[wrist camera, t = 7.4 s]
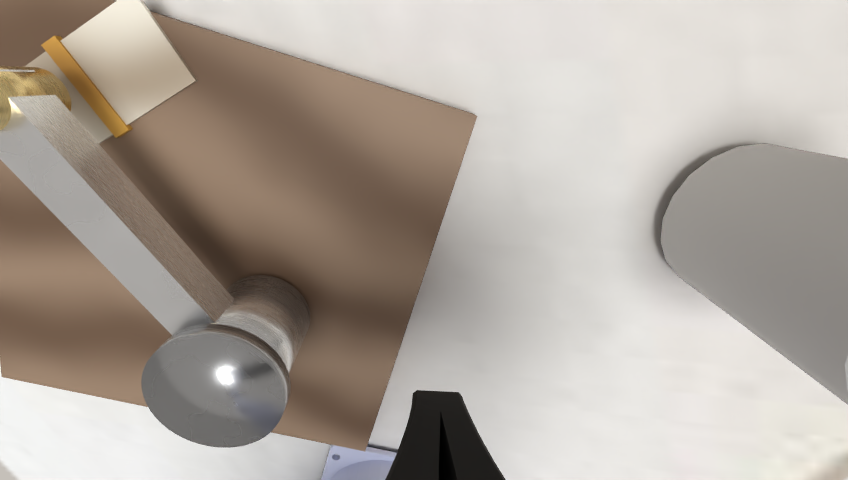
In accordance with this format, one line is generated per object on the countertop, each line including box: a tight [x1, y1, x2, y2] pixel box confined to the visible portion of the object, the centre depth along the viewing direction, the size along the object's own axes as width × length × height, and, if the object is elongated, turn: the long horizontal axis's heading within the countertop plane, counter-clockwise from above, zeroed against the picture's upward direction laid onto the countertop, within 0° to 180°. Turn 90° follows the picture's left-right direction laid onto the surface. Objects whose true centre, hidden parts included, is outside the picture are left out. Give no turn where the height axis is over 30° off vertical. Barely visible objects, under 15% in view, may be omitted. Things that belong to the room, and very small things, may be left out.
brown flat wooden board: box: [0, 0, 477, 451], centre depth 20 cm, size 21×20×2 cm
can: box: [661, 143, 848, 404], centre depth 15 cm, size 8×8×12 cm
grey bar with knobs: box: [0, 66, 310, 447], centre depth 16 cm, size 16×5×6 cm, turn 30°
